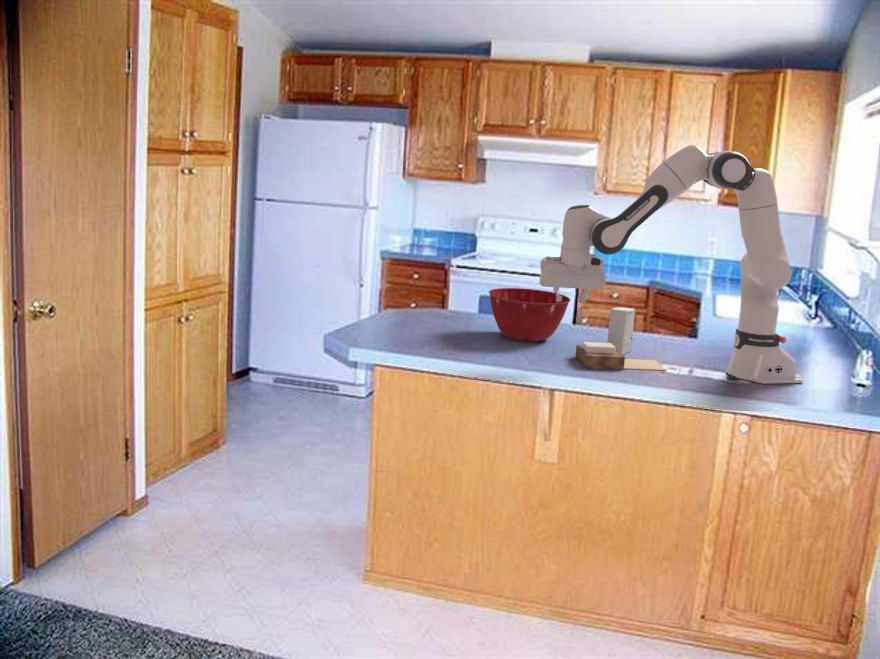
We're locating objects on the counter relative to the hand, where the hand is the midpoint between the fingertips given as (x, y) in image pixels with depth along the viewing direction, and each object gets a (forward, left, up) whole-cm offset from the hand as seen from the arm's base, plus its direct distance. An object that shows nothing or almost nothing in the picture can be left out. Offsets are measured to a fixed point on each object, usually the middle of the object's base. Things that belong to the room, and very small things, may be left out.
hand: (570, 302), depth 272 cm
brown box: (-11, 0, -19) cm, 22 cm away
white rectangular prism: (-10, 0, -15) cm, 18 cm away
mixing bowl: (+7, -32, -19) cm, 38 cm away
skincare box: (-22, -17, -19) cm, 34 cm away
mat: (-24, 0, -19) cm, 31 cm away
